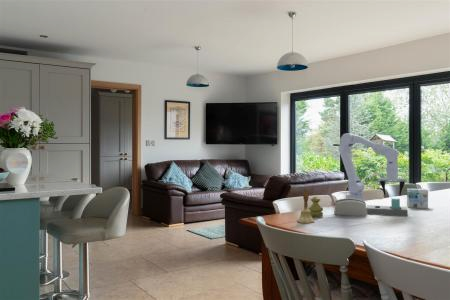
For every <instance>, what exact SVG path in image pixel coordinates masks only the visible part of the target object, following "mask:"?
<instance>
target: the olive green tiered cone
mask: <svg viewBox="0 0 450 300" xmlns="http://www.w3.org/2000/svg"><path fill="white" fill-rule="evenodd" d="M310 201H311V202H312V204H311V205H310V206H308V210H310V212H311V217H312V218H323V217H324V212H323V211H324V208H323V207H322V206H321V205H320V204H319V202H320V201H321V198H319V197H317V196H313V197H312V198H310Z"/></svg>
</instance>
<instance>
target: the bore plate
mask: <svg viewBox="0 0 450 300" xmlns="http://www.w3.org/2000/svg"><path fill="white" fill-rule="evenodd" d="M407 207H408V206H400V209H392V206H391V205H375V204H374V205H372V204H366V210H367V215H380V214H383V215H384V216H398V217H399V216H401V217H402V216H403V217H408V216H409V215H408V212H409V211H408V208H407ZM383 215H382V216H383Z"/></svg>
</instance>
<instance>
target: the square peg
mask: <svg viewBox="0 0 450 300" xmlns="http://www.w3.org/2000/svg"><path fill="white" fill-rule="evenodd" d="M390 199H391V201H390V202H391V205H390V206H392V209H400V207H401V204H400V203H401V201H400V200H401V199H400V198H396V197H395V198H393V197H391V198H390Z"/></svg>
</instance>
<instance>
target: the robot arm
mask: <svg viewBox="0 0 450 300" xmlns="http://www.w3.org/2000/svg"><path fill="white" fill-rule="evenodd" d="M339 141H340V142H339V148H338V150H339V151H338V152H339V154H340V157H341V160H342V163H343V165H344V169H345V171H346V175H347V178H348V179H347V183H348V187H347V188H348V191H349V193H346V195H345V198H354V199H359V200H363V201H364V193H363V191H364V190H365V185H364V183H363V182H362V180H361V179H360V177H359V175H358V174H357V170H356V168H355V165H354V162H353V158H352V156H351V154H350V150H351V148H352V147H353V146H354V145H355V144H361V145H364V146H366V147H369V148H370V149H371V148H372V151H373V153H374V152H375V153H376V154H378V155H382V156H383V157H385V158H386V177H378V178H377V183H378V182H379V184H380V186H381V188H382V192H383V196H386V182H387V183H399V194H398V195H399V197H400V196H402V190H403V188H404V186H405V183H408V178H399V161H398V160H399V159H398V158H399V156H400V152H399V150H398V149H397V148H395V147H392V146H391V145H389V146H388V145H387V144H384V143H383V141H382V142H381V141H380V142H379V141H377V142H373V141H372V140H369V139H368V138H365V137H363V136H360V135H357V134H354V133H343V134H342V135H341V137H340V138H339Z"/></svg>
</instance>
